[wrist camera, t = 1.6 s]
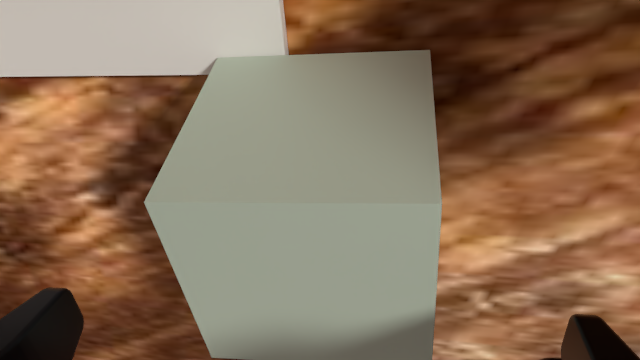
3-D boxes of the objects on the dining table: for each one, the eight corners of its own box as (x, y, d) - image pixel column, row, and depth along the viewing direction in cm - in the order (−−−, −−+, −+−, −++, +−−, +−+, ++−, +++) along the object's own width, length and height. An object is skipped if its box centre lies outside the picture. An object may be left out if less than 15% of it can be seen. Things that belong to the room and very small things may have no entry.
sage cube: (424, 207, 16) (431, 368, 12) (255, 206, 16) (211, 357, 13) (430, 49, 12) (441, 203, 9) (217, 57, 13) (143, 202, 9)
